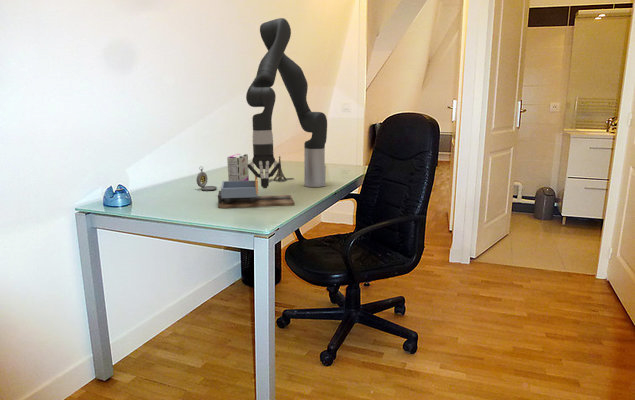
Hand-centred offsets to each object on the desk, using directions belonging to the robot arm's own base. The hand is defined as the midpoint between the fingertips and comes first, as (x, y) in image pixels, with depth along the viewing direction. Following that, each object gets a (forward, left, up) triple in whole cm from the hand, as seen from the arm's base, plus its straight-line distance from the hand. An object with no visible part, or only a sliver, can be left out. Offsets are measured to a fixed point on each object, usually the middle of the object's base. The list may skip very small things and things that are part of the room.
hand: (264, 187), depth 172 cm
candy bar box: (+10, -16, -6) cm, 20 cm away
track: (+3, 0, -6) cm, 7 cm away
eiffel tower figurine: (-10, -47, -6) cm, 49 cm away
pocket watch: (+24, -29, -6) cm, 38 cm away
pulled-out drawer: (+9, 0, -4) cm, 10 cm away
